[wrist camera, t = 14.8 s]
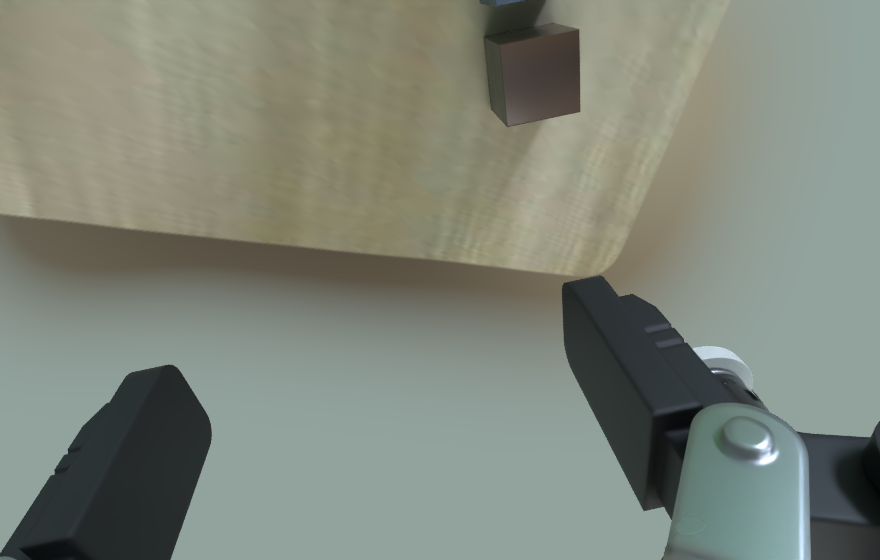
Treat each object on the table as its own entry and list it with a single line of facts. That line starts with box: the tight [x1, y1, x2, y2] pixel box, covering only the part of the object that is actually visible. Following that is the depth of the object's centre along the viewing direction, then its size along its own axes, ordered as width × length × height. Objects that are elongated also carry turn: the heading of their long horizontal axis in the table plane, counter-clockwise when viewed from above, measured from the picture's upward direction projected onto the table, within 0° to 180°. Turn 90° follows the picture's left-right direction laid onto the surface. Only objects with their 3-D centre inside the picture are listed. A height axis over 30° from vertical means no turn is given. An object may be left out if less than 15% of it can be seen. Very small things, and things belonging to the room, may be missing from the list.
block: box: [484, 23, 580, 127], centre depth 30 cm, size 5×5×5 cm
